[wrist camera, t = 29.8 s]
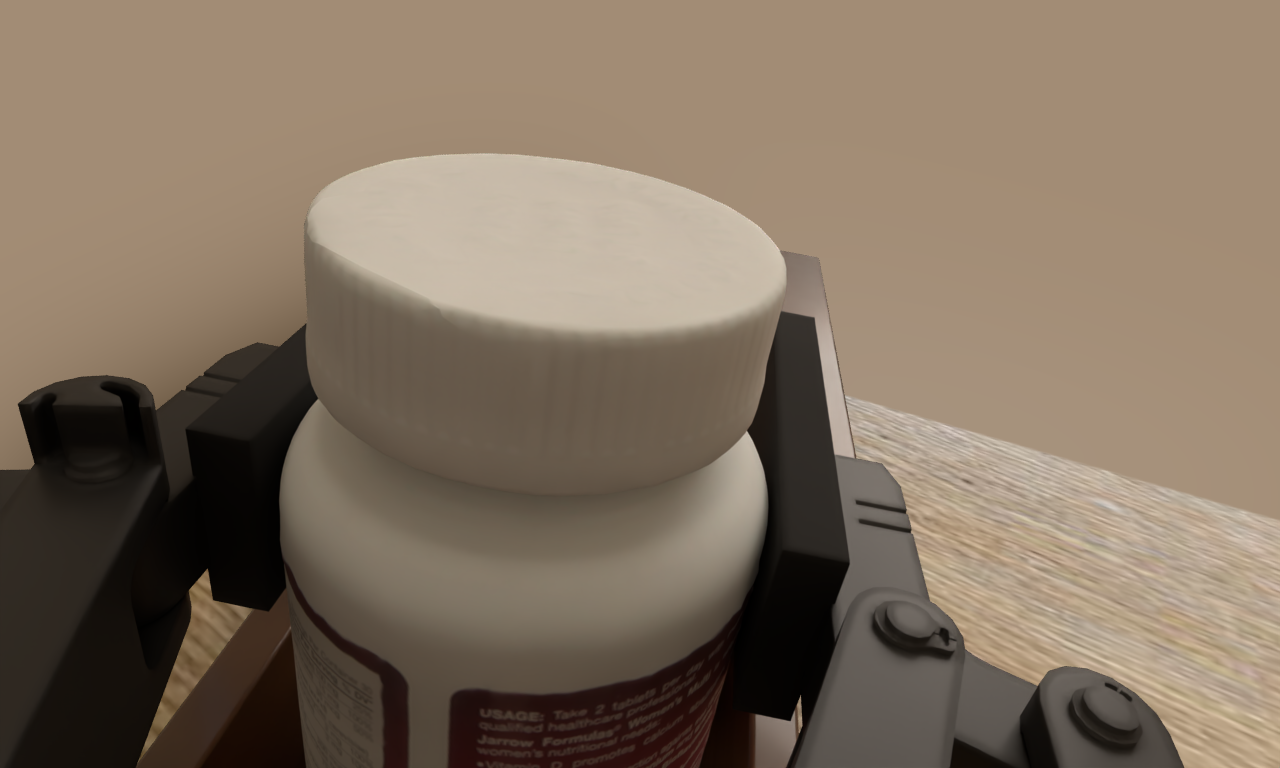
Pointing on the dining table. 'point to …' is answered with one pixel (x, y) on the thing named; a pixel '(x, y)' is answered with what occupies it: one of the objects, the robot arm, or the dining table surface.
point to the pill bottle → (524, 464)
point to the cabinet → (819, 340)
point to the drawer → (271, 725)
